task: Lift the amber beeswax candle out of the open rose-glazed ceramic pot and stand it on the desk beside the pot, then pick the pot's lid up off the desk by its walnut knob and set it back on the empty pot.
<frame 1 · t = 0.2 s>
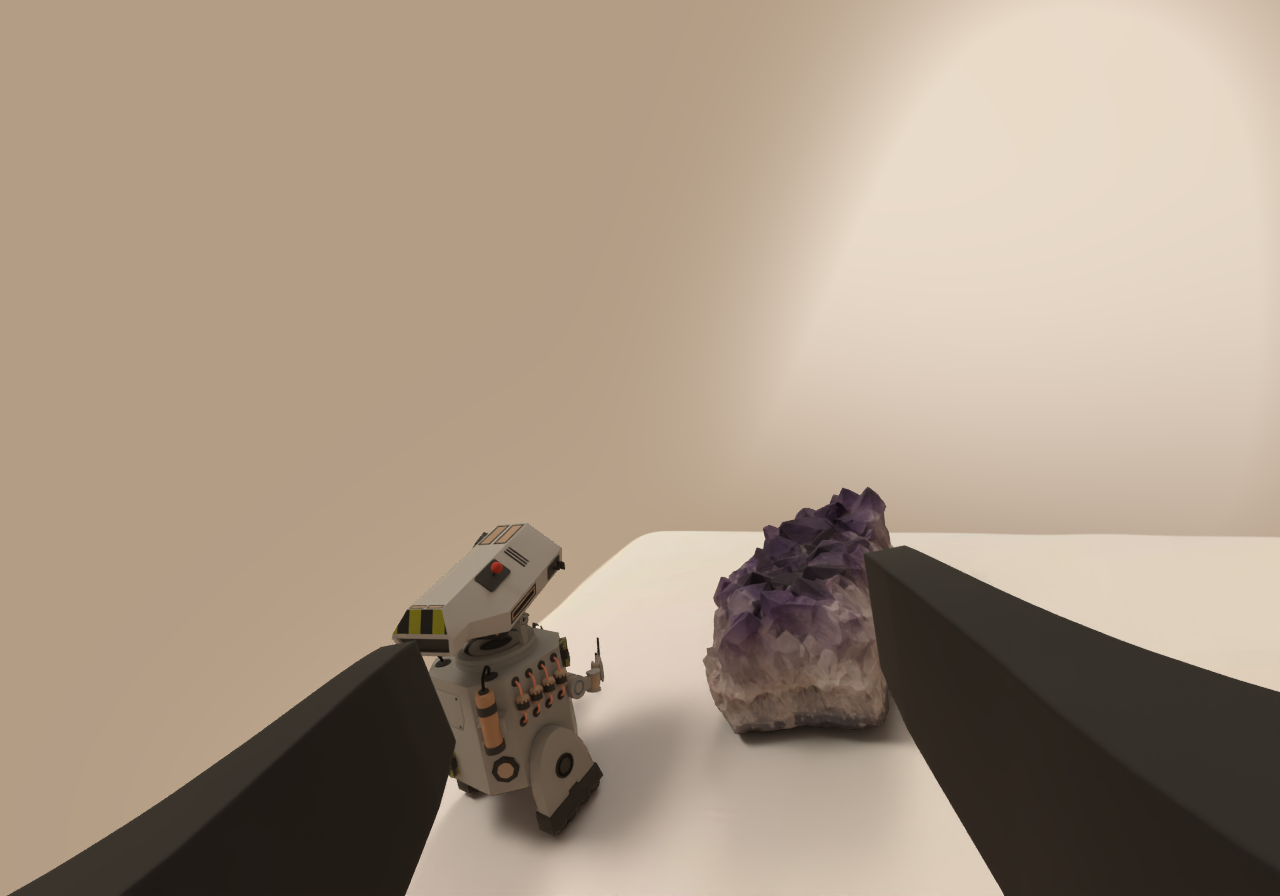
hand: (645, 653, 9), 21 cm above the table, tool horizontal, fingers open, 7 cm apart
geode: (828, 648, 41), on the table
figurine: (554, 764, 38), on the table
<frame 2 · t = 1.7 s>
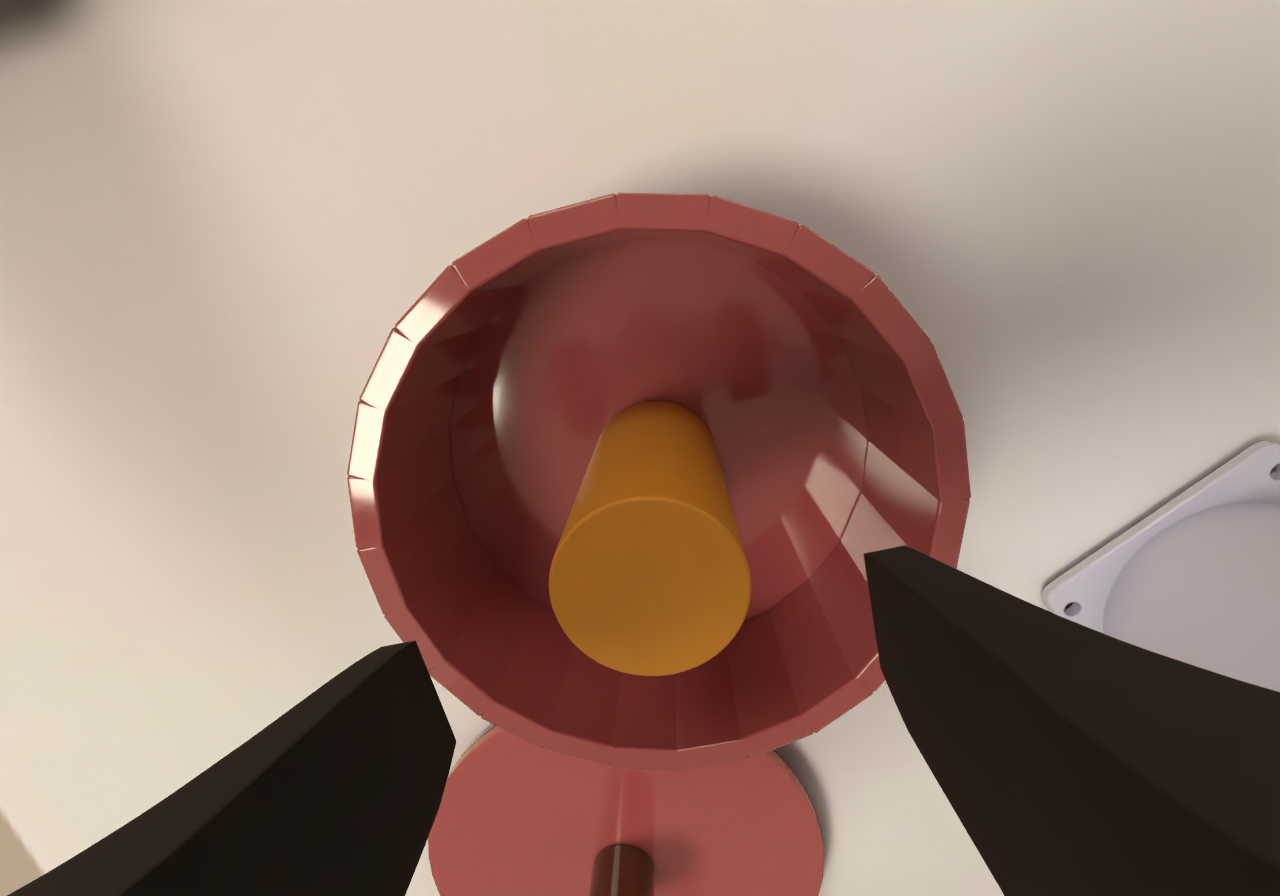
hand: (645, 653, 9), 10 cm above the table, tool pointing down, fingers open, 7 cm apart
candle: (655, 459, 19), resting on pot
lid: (624, 854, 23), point 1 cm above the table
pot: (655, 455, 19), on the table
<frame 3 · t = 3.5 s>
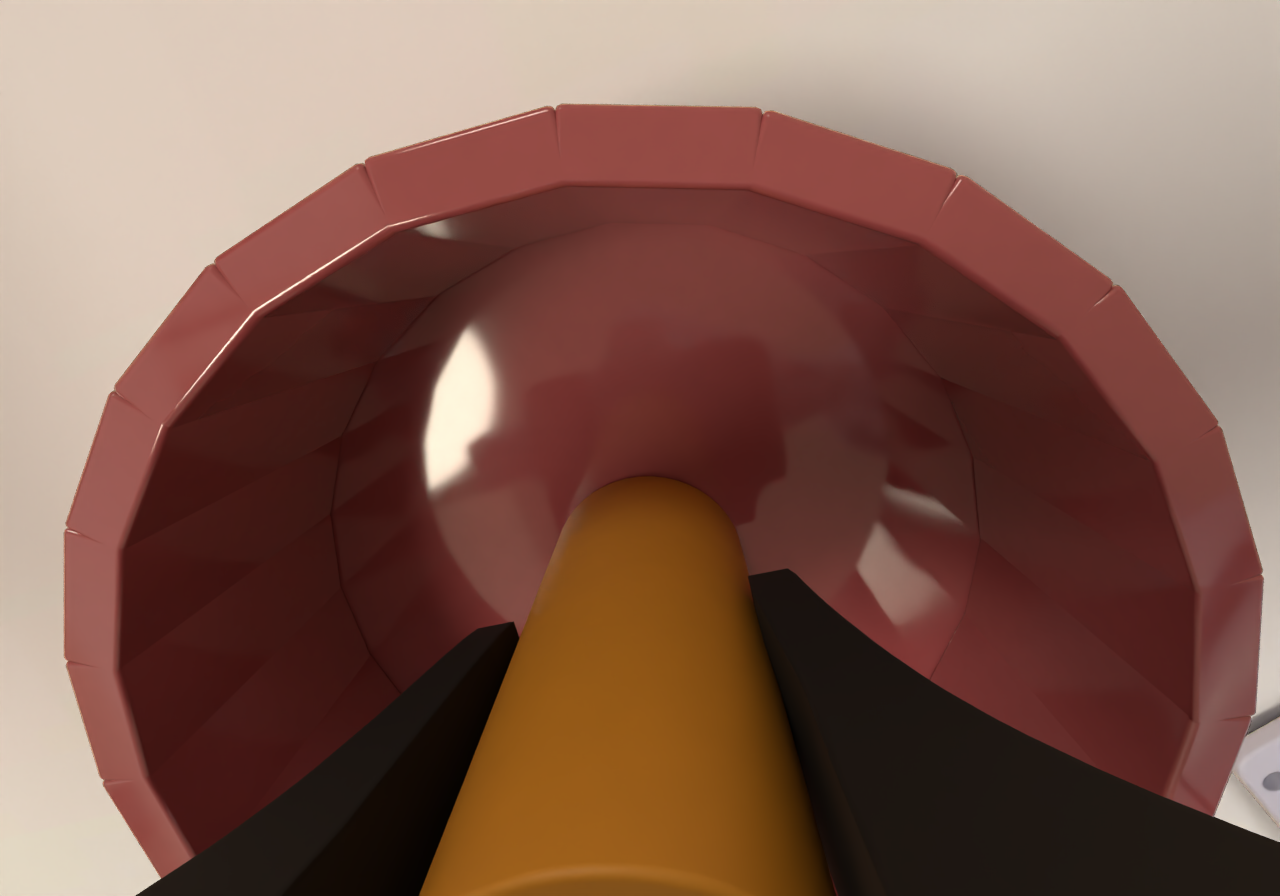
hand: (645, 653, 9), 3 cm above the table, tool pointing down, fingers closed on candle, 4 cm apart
candle: (649, 562, 12), resting on pot, touching gripper
pot: (649, 553, 13), on the table
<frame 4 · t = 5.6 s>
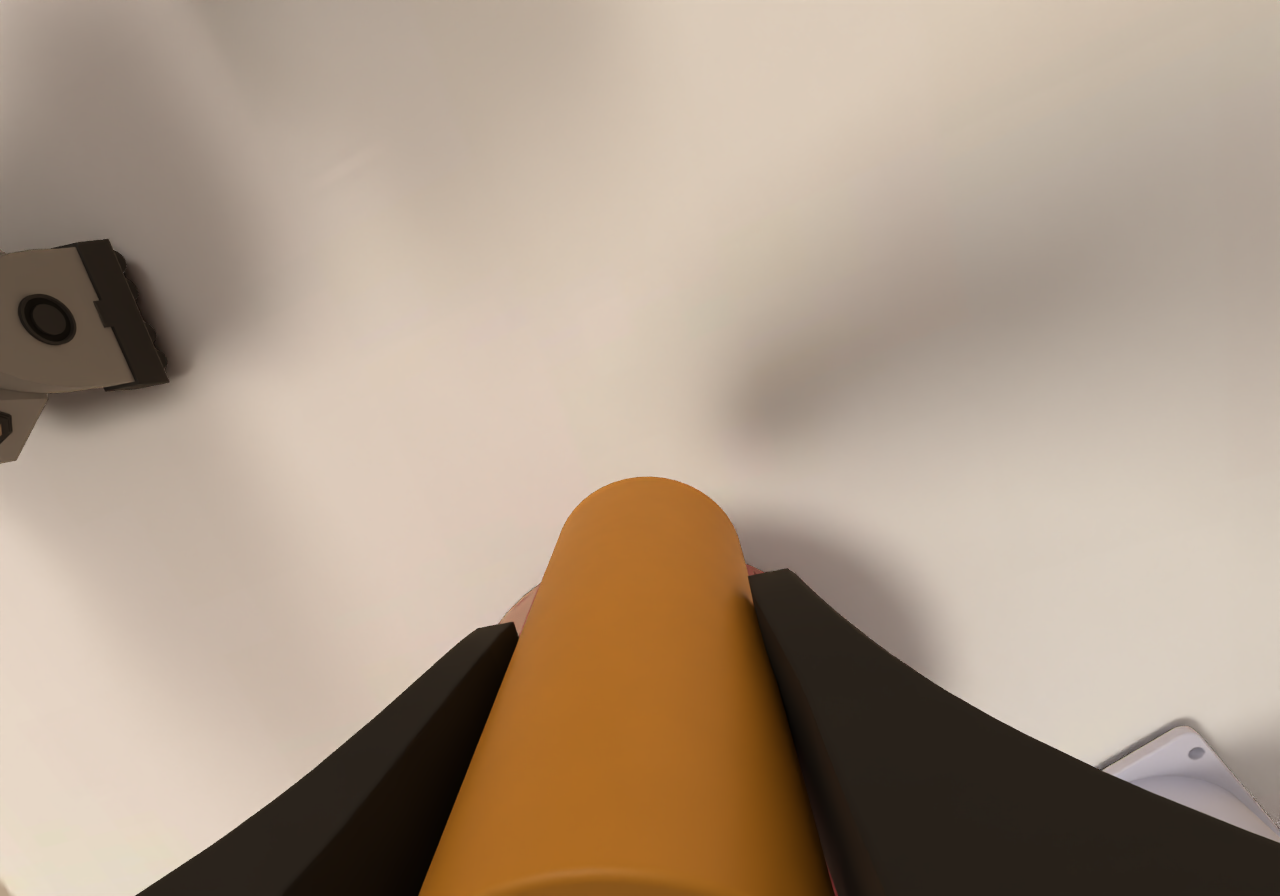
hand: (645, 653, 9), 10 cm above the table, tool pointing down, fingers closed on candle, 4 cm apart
candle: (648, 562, 12), point 7 cm above the table, touching gripper
pot: (663, 722, 22), on the table
when the fingers open (3 cm above the table, at t = 7.8 s): candle stays where it is, on the table.
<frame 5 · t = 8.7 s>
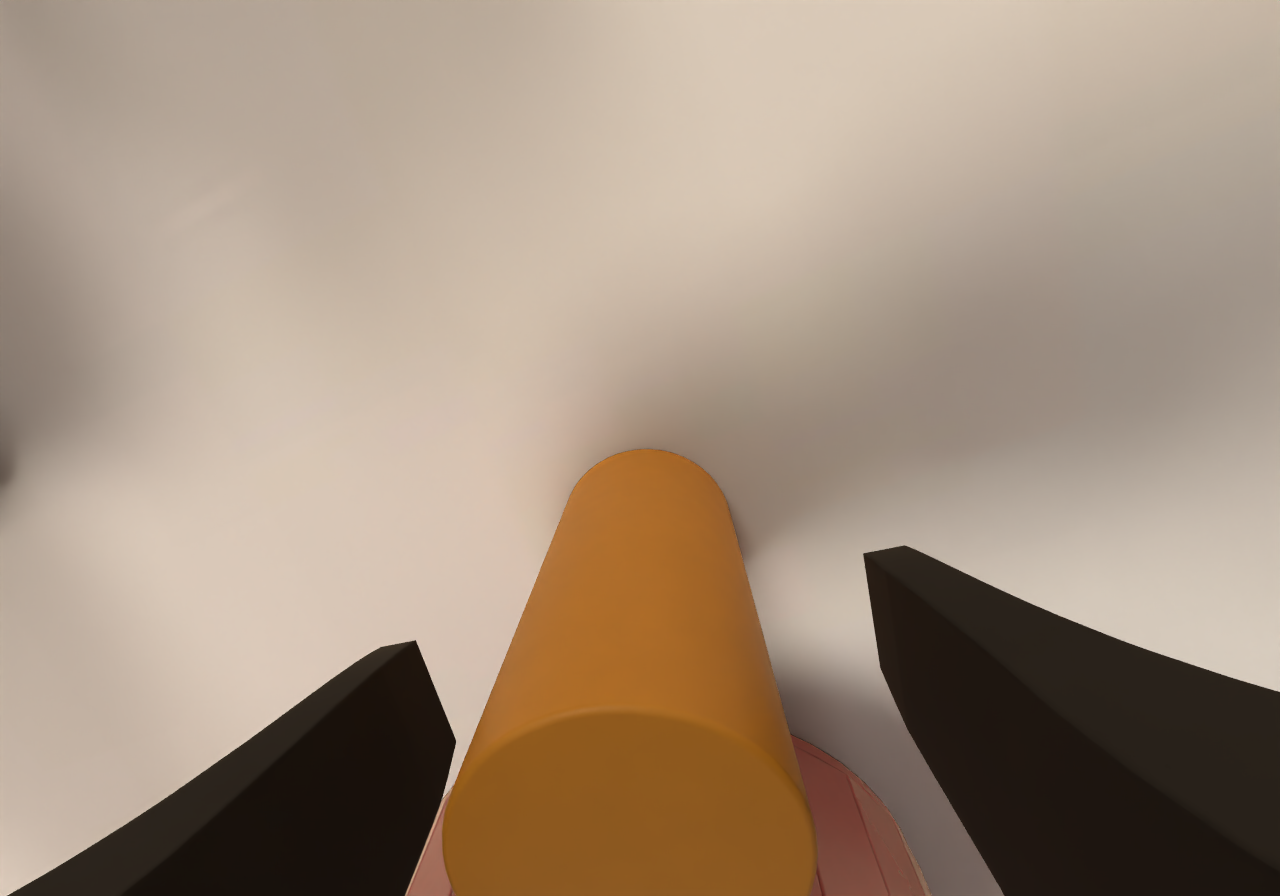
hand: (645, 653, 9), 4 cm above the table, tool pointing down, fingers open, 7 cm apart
candle: (647, 527, 14), on the table
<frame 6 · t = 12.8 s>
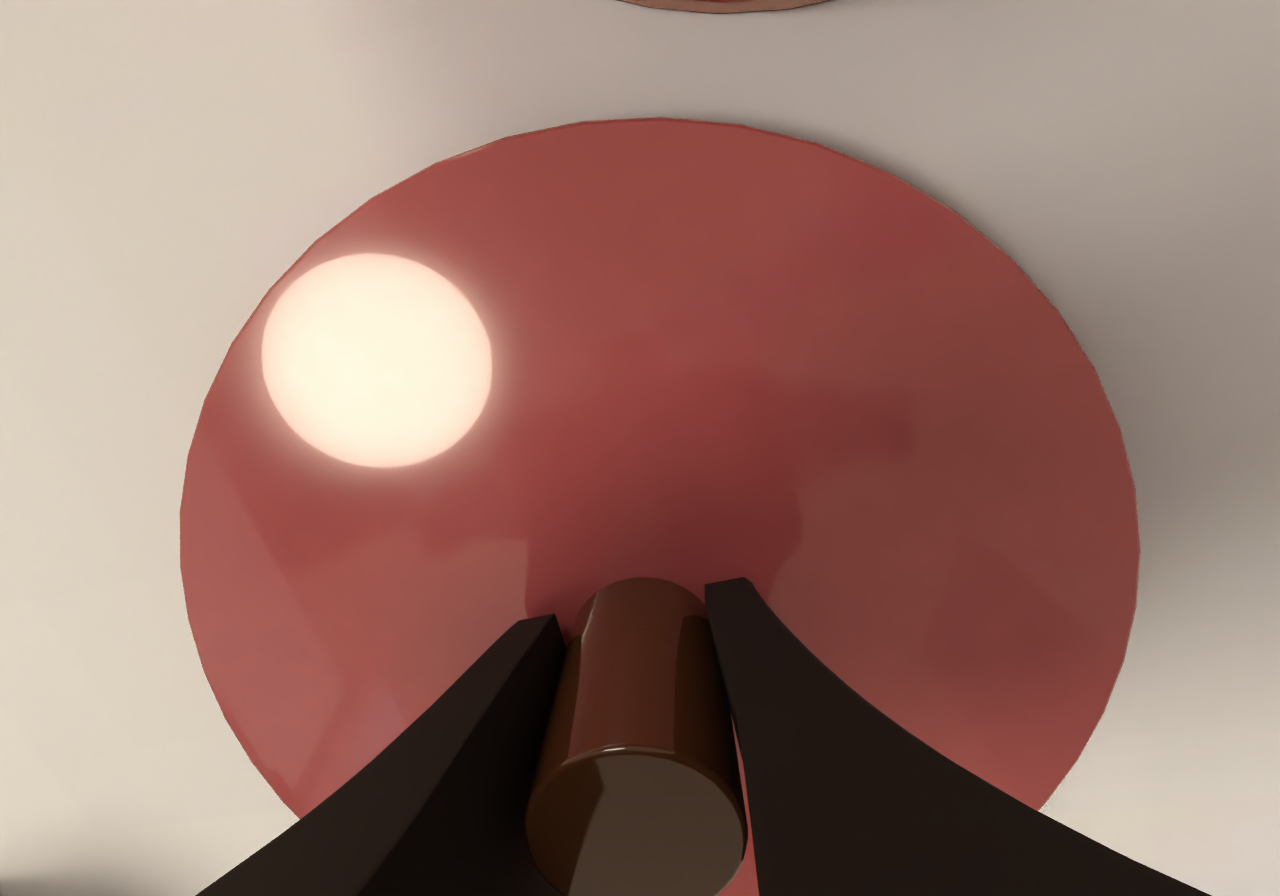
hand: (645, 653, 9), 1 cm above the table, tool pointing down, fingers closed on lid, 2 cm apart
lid: (645, 623, 10), point 1 cm above the table, touching gripper
when the fingers open (6 cm above the table, at t = 18.3 s): lid stays where it is, resting on pot.
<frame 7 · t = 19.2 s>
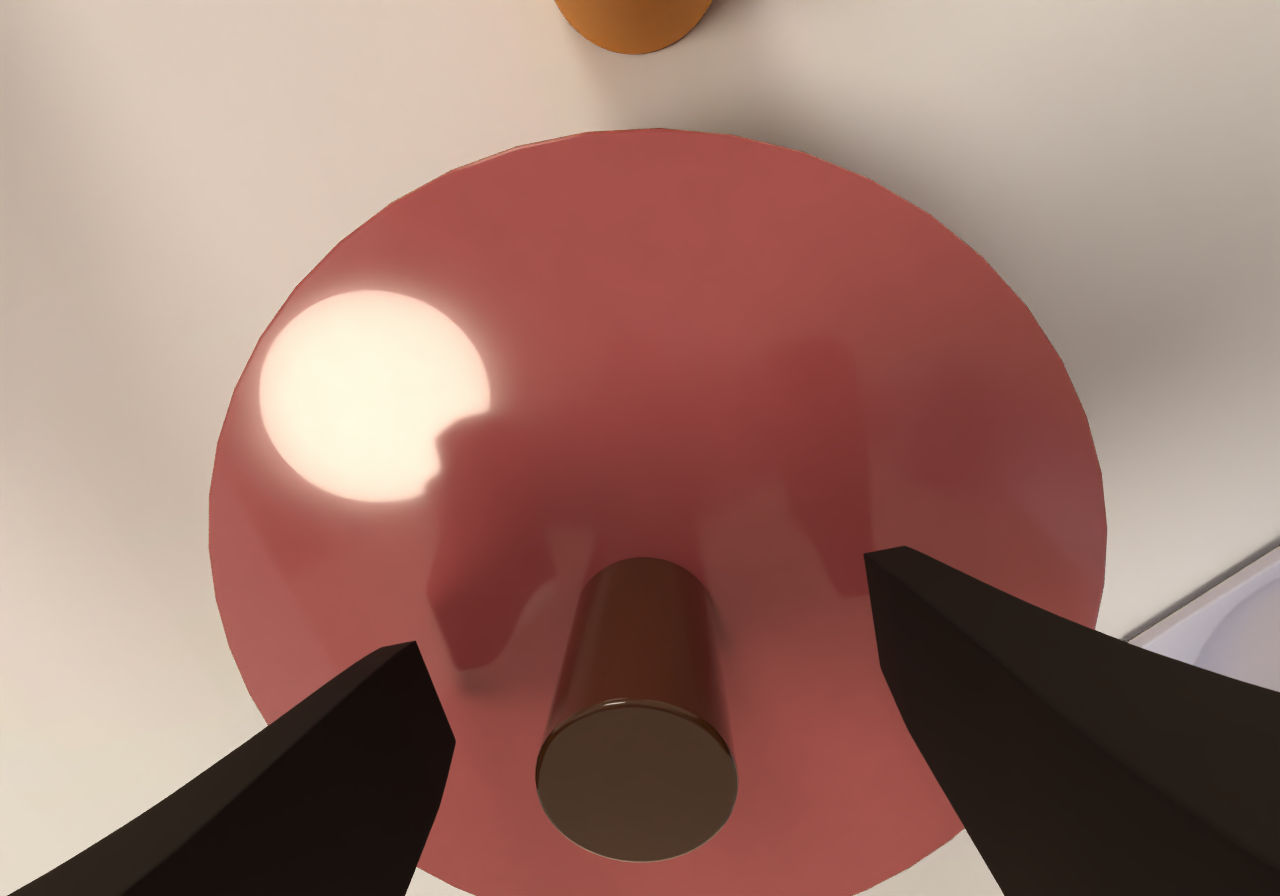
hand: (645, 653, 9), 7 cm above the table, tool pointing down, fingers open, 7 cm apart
lid: (645, 602, 11), point 5 cm above the table, touching pot
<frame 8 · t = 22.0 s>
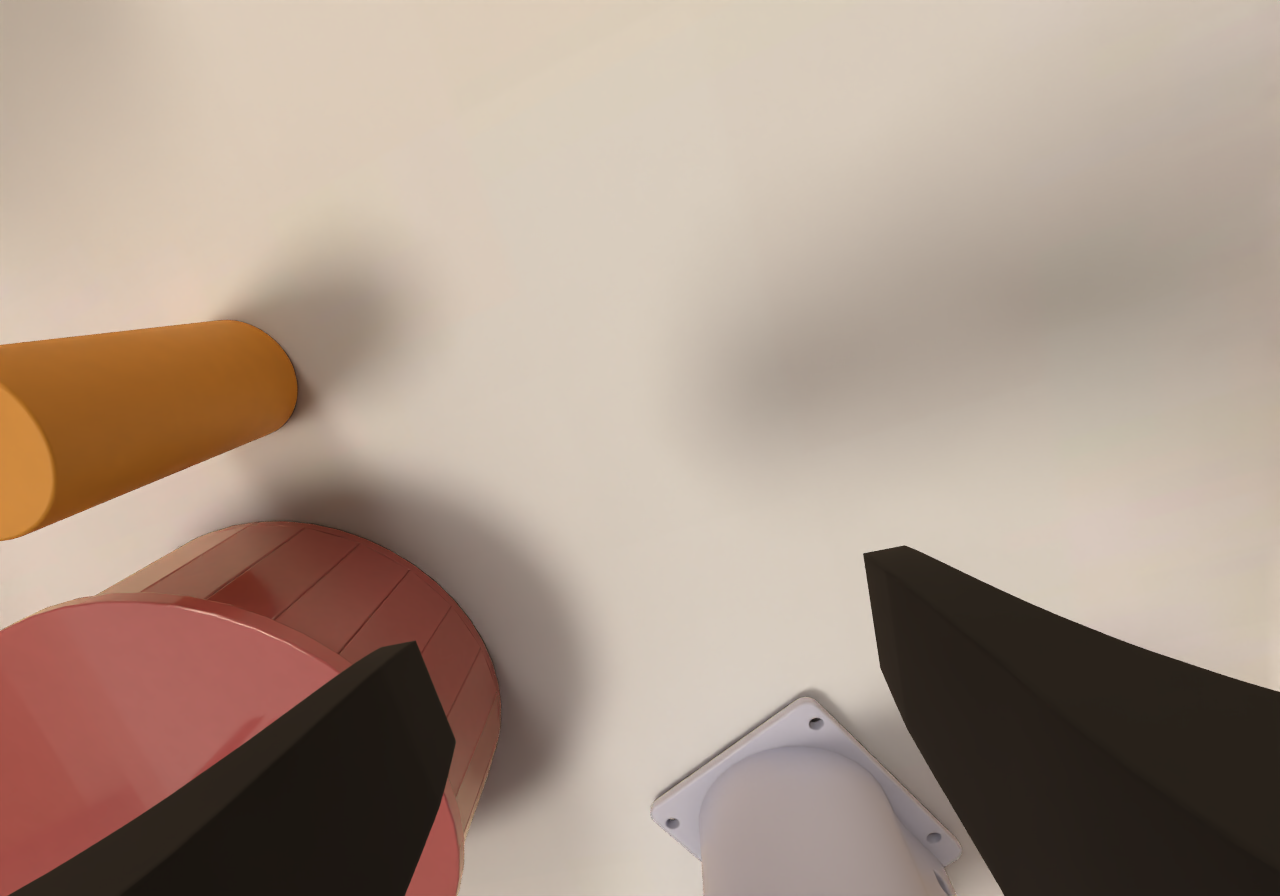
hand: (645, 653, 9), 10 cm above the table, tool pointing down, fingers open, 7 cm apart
candle: (240, 379, 19), on the table
lid: (207, 821, 17), point 5 cm above the table, touching pot
pot: (313, 695, 23), on the table
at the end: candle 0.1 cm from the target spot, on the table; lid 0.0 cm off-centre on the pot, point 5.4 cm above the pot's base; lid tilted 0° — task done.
